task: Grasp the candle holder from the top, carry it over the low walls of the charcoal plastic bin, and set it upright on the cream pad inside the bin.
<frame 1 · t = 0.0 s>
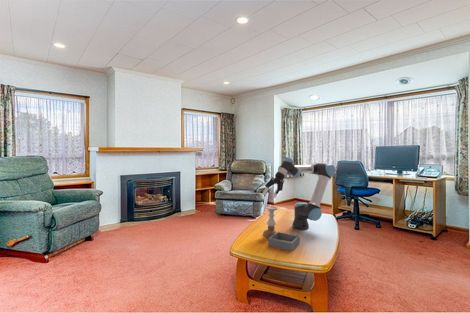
hand: (268, 195, 204), 36 cm above the table, tool tilted 35°, fingers open, 13 cm apart
candle holder: (271, 235, 215), on the table
walled bin: (284, 244, 195), on the table
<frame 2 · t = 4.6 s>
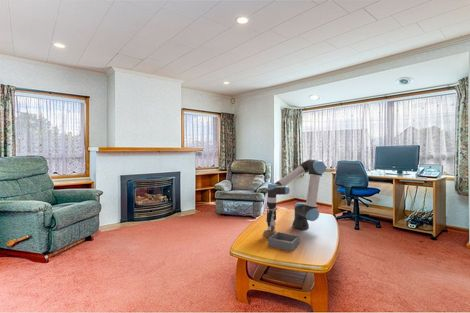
hand: (271, 228, 215), 6 cm above the table, tool pointing down, fingers closed on candle holder, 7 cm apart
candle holder: (271, 235, 215), on the table, touching gripper
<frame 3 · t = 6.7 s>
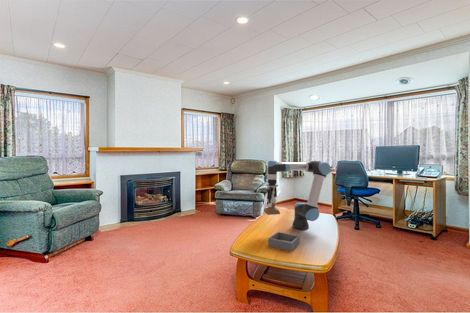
hand: (271, 205, 214), 25 cm above the table, tool pointing down, fingers closed on candle holder, 7 cm apart
candle holder: (271, 213, 214), point 19 cm above the table, touching gripper
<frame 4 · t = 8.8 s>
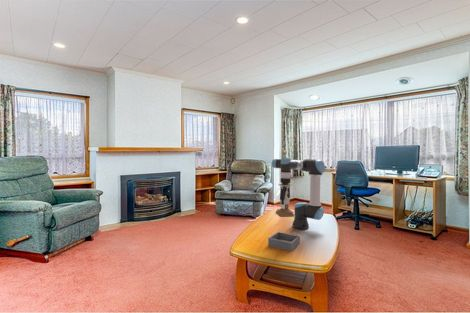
hand: (284, 207, 194), 29 cm above the table, tool pointing down, fingers closed on candle holder, 7 cm apart
candle holder: (284, 215, 194), point 23 cm above the table, touching gripper
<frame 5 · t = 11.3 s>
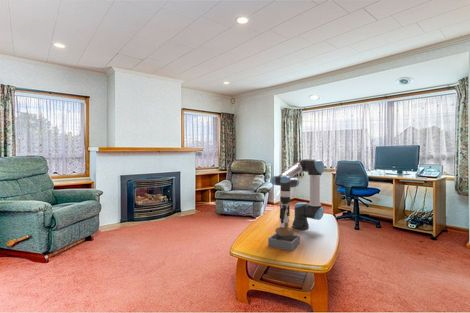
hand: (284, 225, 194), 15 cm above the table, tool pointing down, fingers closed on candle holder, 7 cm apart
candle holder: (284, 233, 194), point 9 cm above the table, touching gripper
when the fingers open (8 cm above the table, at t = 13.5 s): candle holder drops 1 cm, resting on walled bin.
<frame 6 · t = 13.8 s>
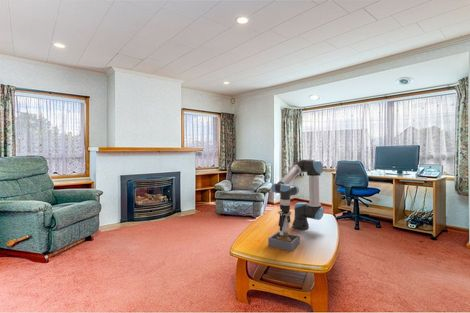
hand: (284, 232, 194), 9 cm above the table, tool pointing down, fingers open, 11 cm apart
candle holder: (284, 243, 195), point 1 cm above the table, touching walled bin
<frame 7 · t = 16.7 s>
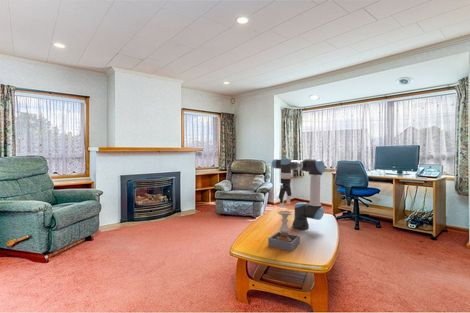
hand: (285, 205, 194), 30 cm above the table, tool pointing down, fingers open, 13 cm apart
nothing on the table moved.
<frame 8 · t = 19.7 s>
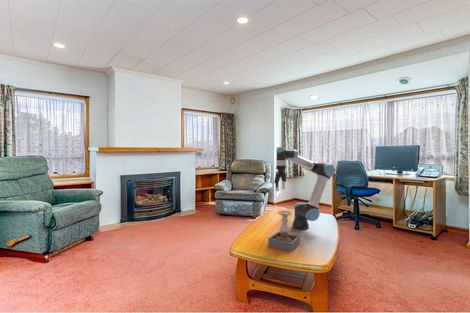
hand: (280, 190, 216), 39 cm above the table, tool pointing down, fingers open, 13 cm apart
nothing on the table moved.
at the end: candle holder inside the target area on the walled bin (0.1 cm from its centre), point 1.1 cm above the walled bin's base; candle holder tilted 0°; the gripper is holding nothing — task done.
